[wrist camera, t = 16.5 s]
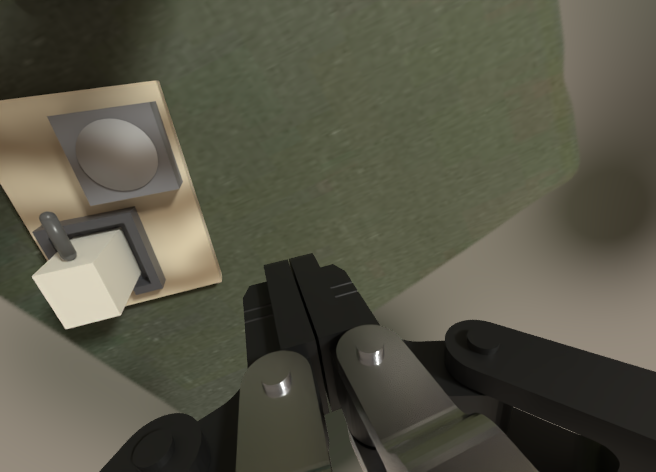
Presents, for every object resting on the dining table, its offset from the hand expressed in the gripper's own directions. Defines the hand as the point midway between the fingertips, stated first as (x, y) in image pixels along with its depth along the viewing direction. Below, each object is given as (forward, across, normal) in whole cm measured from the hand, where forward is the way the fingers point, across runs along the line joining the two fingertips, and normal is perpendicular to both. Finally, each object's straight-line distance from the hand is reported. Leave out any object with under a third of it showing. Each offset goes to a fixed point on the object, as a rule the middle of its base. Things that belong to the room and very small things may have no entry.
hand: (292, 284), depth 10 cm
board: (+25, +13, +3) cm, 28 cm away
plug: (+23, +15, +5) cm, 28 cm away
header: (+24, +15, +7) cm, 29 cm away
